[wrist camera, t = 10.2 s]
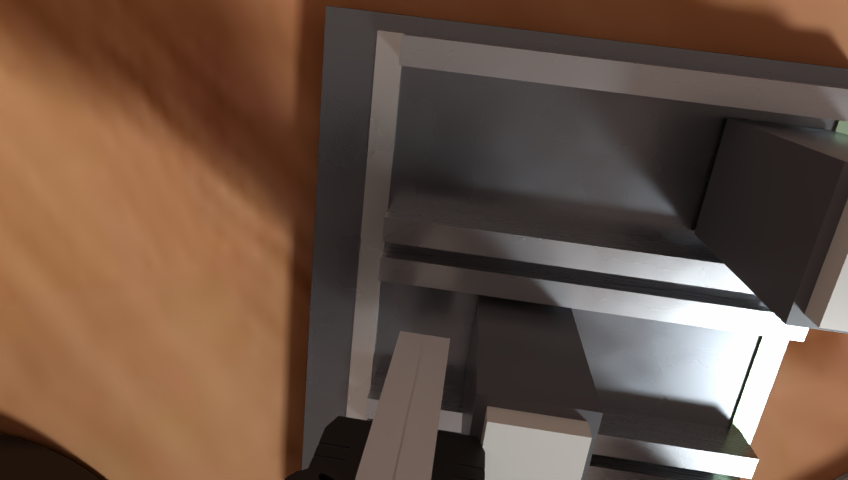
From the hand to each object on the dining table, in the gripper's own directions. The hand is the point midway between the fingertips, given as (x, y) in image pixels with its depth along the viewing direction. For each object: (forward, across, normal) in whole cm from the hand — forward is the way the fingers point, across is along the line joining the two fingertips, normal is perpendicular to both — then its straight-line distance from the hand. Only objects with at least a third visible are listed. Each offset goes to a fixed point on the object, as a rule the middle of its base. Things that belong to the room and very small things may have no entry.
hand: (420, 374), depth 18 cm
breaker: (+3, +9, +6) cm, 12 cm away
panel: (+5, +4, 0) cm, 6 cm away
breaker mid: (+3, +3, 0) cm, 4 cm away
